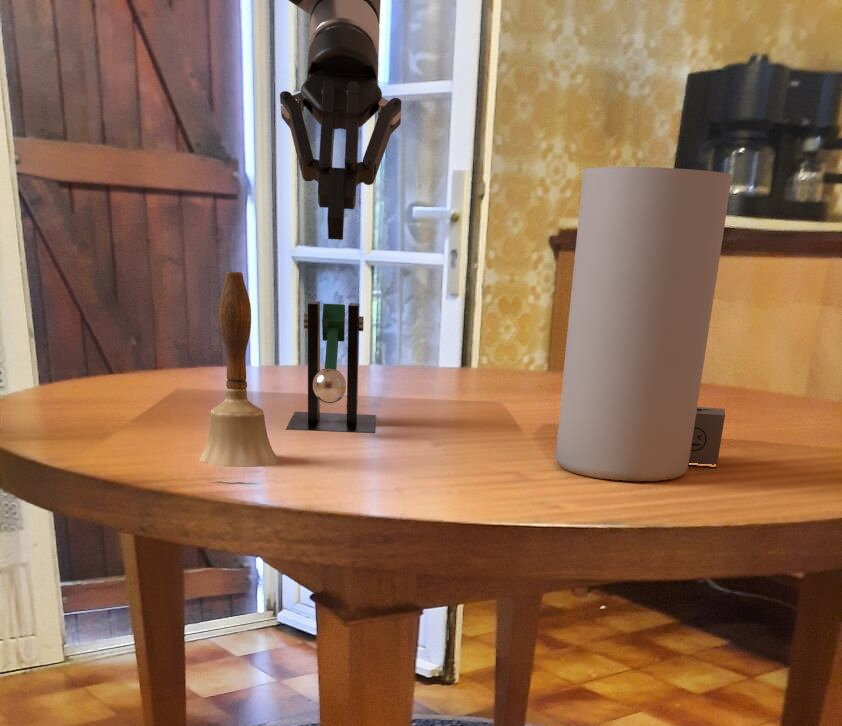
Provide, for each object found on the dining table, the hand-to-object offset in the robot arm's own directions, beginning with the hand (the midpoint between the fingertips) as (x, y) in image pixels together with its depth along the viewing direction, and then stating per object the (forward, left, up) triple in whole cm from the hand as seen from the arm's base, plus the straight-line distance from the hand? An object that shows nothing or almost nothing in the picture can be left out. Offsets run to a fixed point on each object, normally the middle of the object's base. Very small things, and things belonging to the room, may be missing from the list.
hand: (335, 228), depth 106 cm
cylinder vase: (+21, -24, -20) cm, 38 cm away
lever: (-2, -6, -13) cm, 14 cm away
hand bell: (-15, -21, -20) cm, 32 cm away
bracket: (-1, -2, -20) cm, 20 cm away
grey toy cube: (+31, -21, -20) cm, 43 cm away
